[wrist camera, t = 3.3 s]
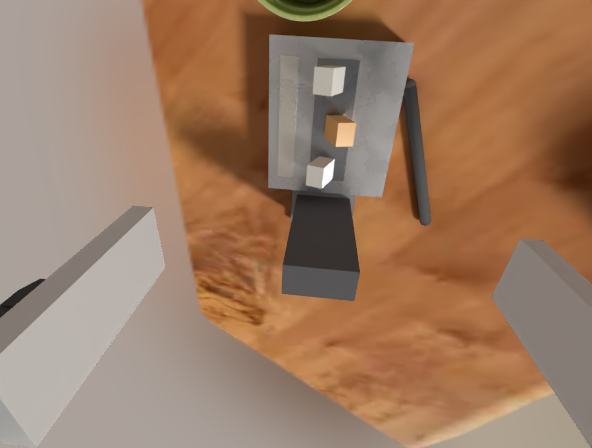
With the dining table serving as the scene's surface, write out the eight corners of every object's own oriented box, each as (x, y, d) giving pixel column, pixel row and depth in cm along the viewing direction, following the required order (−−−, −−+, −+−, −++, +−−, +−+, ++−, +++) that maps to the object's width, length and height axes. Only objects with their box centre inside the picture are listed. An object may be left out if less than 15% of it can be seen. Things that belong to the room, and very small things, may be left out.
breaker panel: (274, 35, 29) (269, 34, 26) (406, 43, 28) (414, 43, 25) (272, 177, 36) (267, 188, 33) (377, 186, 35) (381, 198, 32)
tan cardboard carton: (326, 115, 28) (338, 123, 26) (342, 115, 29) (356, 122, 26) (324, 137, 29) (335, 146, 27) (339, 137, 30) (352, 146, 27)
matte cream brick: (319, 156, 31) (307, 164, 28) (334, 159, 30) (323, 168, 28) (317, 175, 32) (305, 185, 29) (332, 178, 31) (321, 188, 29)
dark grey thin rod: (400, 80, 30) (403, 82, 29) (413, 76, 29) (416, 77, 28) (419, 223, 37) (421, 228, 36) (429, 221, 37) (432, 226, 36)
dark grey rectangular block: (292, 185, 36) (275, 257, 24) (355, 190, 36) (369, 265, 24) (291, 218, 38) (274, 299, 26) (350, 223, 38) (360, 307, 26)
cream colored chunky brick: (327, 65, 27) (314, 66, 24) (345, 66, 26) (334, 68, 24) (325, 90, 28) (312, 94, 25) (342, 92, 27) (331, 96, 25)
